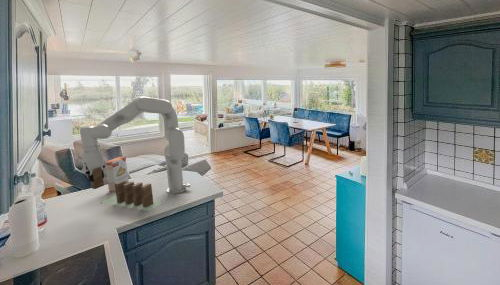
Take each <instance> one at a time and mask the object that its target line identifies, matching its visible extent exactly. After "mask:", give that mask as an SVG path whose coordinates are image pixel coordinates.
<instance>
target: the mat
mask: <svg viewBox="0 0 500 285" xmlns="http://www.w3.org/2000/svg"><path fill="white" fill-rule="evenodd" d="M163 203H164V201H159V200H153V204H151V205H150V206H148V207H143V204H140V205H138V206H134V202H133V203H131V204H129V205H128V204H125V201H124V202H122V203H117V197H116V194H115V195H113V196H111V197H109V198H106V199H105V200H102V201H99V204H104V205H105V204H106V205H110V206H111V205H112V206H117V207H124V208H130V209H135V210H142V211H147V212H148V211H152V210H153V209H155V208H156V207H158V206H160V205H161V204H163Z"/></svg>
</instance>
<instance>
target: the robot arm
mask: <svg viewBox="0 0 500 285" xmlns="http://www.w3.org/2000/svg"><path fill="white" fill-rule="evenodd" d="M143 113H150V114H152V113H153V114H161V116H162V118H163V126H164V131H163V132H164V138H165V139H166V140H167V141H168V144H166V145H165V147H164V149H163V154H164V159H165V166H166V174H167V185H168V188H167V189H166V193H168V194H181V193H183V192H185V191H187V188H191V184H189V183H185V182H184V178H183V177H184V176H183V166H182V159H183V158H184V156H185V153H186V152H185V151H186V150H185V134H184V133H183V130H182V129H180V128H179V120H178V114H177V112H176V110H175V108H174V107H173V105H172V103H171V101H170V100H167V99H161V98H155V97H148V96H138V97H137V98H135V99H134V100H132V101H131V102H129V103H128V104H127V105H124V107H122V108H120V109H119V110H118V111H116V112H115V113H113V114H112V115H111V116H109V117H107V118H106V119H104V120H103V121H101V122H100V123H98V124H97V125H96V126H92V125H87V126H83V127H80V128H79V134H80V139H81V144H82V149H83V152H82V154H81V159H82V161H81V162H82V168H81V170H80V171H81V172H82V173H84V174H85V175H86V176H87V177H88V182H90V183H91V182H94V177H93V175H92V170H93V169H96V168H99V167H101V170H102V176H103V179H104V178H105V173H104V171H105V169H106V164H107V163H106V162H107V161H106V160H104V156H103V154H102V152H101V150H100V147H101V145H100V144H99V143H98V139H99V140H100V139H108V138H110V137H111V135H112V133H113V131H114V130H116V129H117V128H119V127H120V126H123V125H126V124H128V123H130V122H132V121H134V120H135V119H136V118H137V117H139V116H140V115H142V114H143ZM89 171H90V173H89Z"/></svg>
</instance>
